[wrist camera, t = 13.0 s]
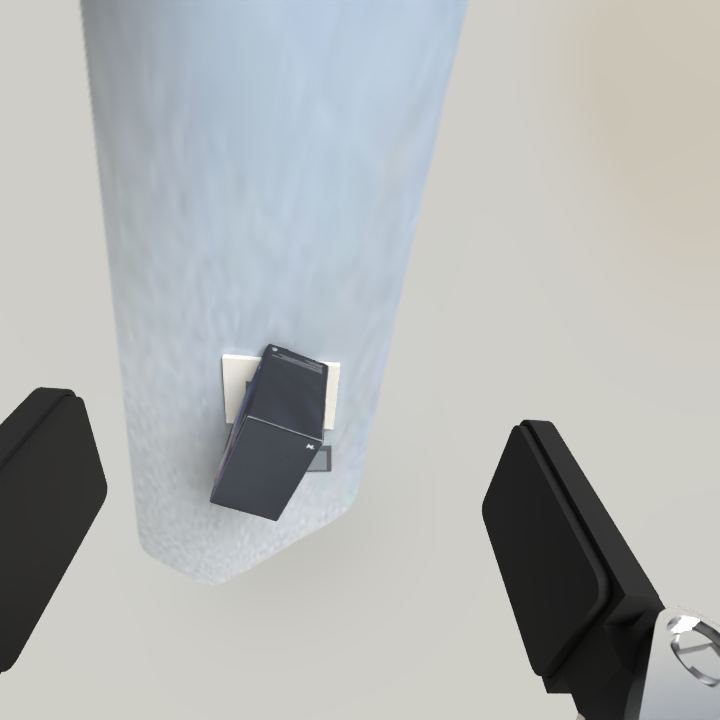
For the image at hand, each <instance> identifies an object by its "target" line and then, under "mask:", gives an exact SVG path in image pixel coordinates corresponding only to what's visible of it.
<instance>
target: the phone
mask: <svg viewBox="0 0 720 720" xmlns="http://www.w3.org/2000/svg"><path fill="white" fill-rule="evenodd" d="M312 471H331V446H321V448H320V449H319V451H318V453H317V454H316V456H315V458H314V460H313V461H312V463H311V465H310V466H309V468H308V470H307V471H306V472H312Z"/></svg>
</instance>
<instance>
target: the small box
mask: <svg viewBox="0 0 720 720" xmlns="http://www.w3.org/2000/svg"><path fill="white" fill-rule="evenodd" d="M328 372H329V366H328V365H326V364H324V363H321V362H317V361H315V360H312V359H309V358H307V357H304V356H301V355H299V354H297V353H294V352H291V351H289V350H287V349H284V348H281V347H278V346H275V345H272V344H269V345H268V346H267V348H266V350H265V352H264V354H263V357H262V359H261V361H260V363H259V365H258V367H257V369H256V372H255V374H254V376H253V378H252V380H251V383H250V385H249V387H248V389H247V392H246V394H245V396H244V398H243V401H242V403H241V406H240V408H239V410H238V413H237V415H236V418H235V420H234V423H233V426H232V429H231V432H230V435H229V438H228V441H227V444H226V447H225V450H224V453H223V456H222V459H221V463H220V466H219V469H218V473H217V476H216V479H215V483H214V487H213V490H212V494H211V498H210V502H211V503H214V504H217V505H221V506H224V507H228V508H232V509H235V510H239V511H242V512H246V513H250V514H253V515H257V516H260V517H264V518H267V519H270V520H274V521H277V520H278V519H279V517H280V515H281V514H282V512H283V510H284V509H285V507H286V505H287V504H288V502H289V500H290V499H291V497H292V495H293V493H294V492H295V490H296V489H297V487H298V485H299V483H300V482H301V480H302V478H303V477H304V475H305V473H306V471H307V470H308V468H309V466H310V465H311V463H312V461H313V460H314V458H315V456H316V454H317V453H318V451H319V449H320V448H321V446H322V444H323V440H324V425H325V411H326V391H327V380H328Z"/></svg>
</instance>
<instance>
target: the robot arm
mask: <svg viewBox="0 0 720 720" xmlns="http://www.w3.org/2000/svg"><path fill="white" fill-rule="evenodd" d="M106 494H107V482H106V479H105V475H104V472H103V468H102V465H101V461H100V458H99V454H98V450H97V447H96V443H95V440H94V436H93V433H92V429H91V425H90V422H89V418H88V415H87V411H86V408H85V404H84V401H83V399H82V398H80V397H76V395H75V393H74V392H73V391H72V390H70V389H58V388H43V387H40V388H37V389H35V390H34V391H33V392H32V393H31V394H30V395H29V396H28V397H27V398H26V399H25V400H24V401H23V402H22V403H21V404H20V405H19V406H18V407H17V408H16V409H15V410H14V411H13V412H12V414H10V415H9V416H8V417H7V418H6V419H5V421H4V422H3V423H2V424H1V425H0V673H1V672H5V671H7V670H8V669H10V668H11V667H12V666H13V664H14V663H15V662H16V660H17V659H18V657H19V655H20V653H21V651H22V650H23V648H24V646H25V644H26V642H27V640H28V639H29V637H30V635H31V633H32V631H33V629H34V628H35V626H36V624H37V622H38V621H39V619H40V617H41V615H42V613H43V612H44V610H45V608H46V606H47V604H48V603H49V601H50V599H51V597H52V595H53V593H54V591H55V590H56V588H57V586H58V584H59V582H60V581H61V579H62V577H63V575H64V573H65V572H66V570H67V568H68V566H69V564H70V563H71V561H72V559H73V557H74V555H75V553H76V552H77V550H78V548H79V546H80V545H81V543H82V541H83V539H84V537H85V535H86V534H87V532H88V530H89V528H90V526H91V524H92V523H93V521H94V519H95V517H96V516H97V514H98V512H99V510H100V508H101V506H102V504H103V503H104V500H105V498H106ZM482 515H483V520H484V522H485V525H486V529H487V532H488V535H489V538H490V541H491V544H492V547H493V550H494V554H495V556H496V560H497V563H498V566H499V569H500V572H501V575H502V578H503V581H504V584H505V587H506V590H507V594H508V597H509V599H510V603H511V606H512V609H513V612H514V615H515V618H516V621H517V624H518V627H519V630H520V633H521V636H522V640H523V643H524V646H525V649H526V652H527V655H528V658H529V661H530V664H531V667H532V669H533V671H534V672H535V674H536V675H538V676H542V679H543V682H544V685H545V688H546V691H547V693H570V694H572V697H573V699H574V702H575V705H576V708H577V710H578V716H577V720H720V625H718V624H717V623H715V622H714V621H713V620H711V619H710V618H708V617H706V616H704V615H702V614H700V613H698V612H696V611H694V610H691V609H687V608H683V607H668V608H665V607H664V605H663V603H662V602H661V600H660V599H659V595H658V594H657V592H656V590H655V589H654V587H653V586H652V584H651V582H650V581H649V579H648V577H647V576H646V574H645V573H644V571H643V569H642V568H641V566H640V564H639V563H638V561H637V559H636V558H635V556H634V554H633V553H632V551H631V550H630V548H629V546H628V545H627V543H626V541H625V540H624V538H623V537H622V535H621V533H620V532H619V530H618V528H617V527H616V525H615V524H614V522H613V520H612V519H611V517H610V516H609V514H608V512H607V511H606V509H605V508H604V506H603V504H602V502H601V501H600V499H599V498H598V496H597V495H596V493H595V491H594V489H593V488H592V486H591V485H590V483H589V481H588V480H587V478H586V476H585V475H584V473H583V471H582V470H581V468H580V467H579V465H578V463H577V462H576V460H575V459H574V457H573V456H572V454H571V452H570V451H569V449H568V447H567V446H566V444H565V442H564V441H563V439H562V437H561V436H560V434H559V432H558V431H557V429H556V428H555V426H554V425H553V424H552V423H551V422H549V421H538V420H523V421H522V422H521V424H520V425H519V426H514V427H513V429H512V431H511V434H510V436H509V439H508V441H507V444H506V446H505V449H504V451H503V454H502V456H501V459H500V461H499V464H498V466H497V469H496V471H495V474H494V476H493V479H492V481H491V483H490V486H489V488H488V491H487V493H486V496H485V498H484V501H483V504H482Z"/></svg>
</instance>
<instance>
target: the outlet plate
mask: <svg viewBox="0 0 720 720" xmlns="http://www.w3.org/2000/svg"><path fill="white" fill-rule="evenodd" d="M261 359H262V357H252V356H239V355H226V354H224V355H223V357H222V363H223V379H224V396H225V412H226V423H234V420H235V418H236V415H237V413H238V410H239V408H240V406H241V403H242V401H243V398H244V396H245V394H246V392H247V389H248V387H249V385H250V383H251V380H252V378H253V376H254V374H255V372H256V369H257V367H258V365H259V363H260V361H261ZM317 362H318V361H317ZM321 363H324V364H326V365H328V366H329V372H328V380H327V391H326V411H325V425H324V429H331V430H333V425H334V416H335V407H336V398H337V389H338V380H339V371H340V363H331V362H321Z"/></svg>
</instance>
